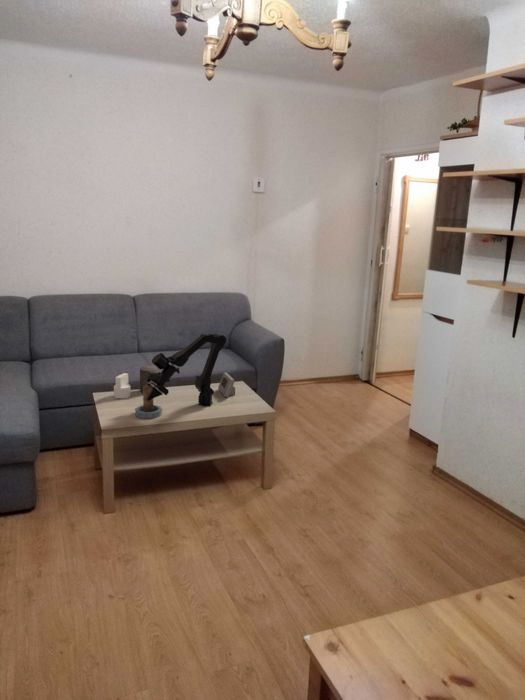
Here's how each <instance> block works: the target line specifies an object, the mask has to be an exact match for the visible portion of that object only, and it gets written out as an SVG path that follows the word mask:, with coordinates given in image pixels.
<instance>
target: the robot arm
mask: <svg viewBox="0 0 525 700" xmlns="http://www.w3.org/2000/svg"><path fill="white" fill-rule="evenodd" d="M207 343H210V349H209V353H208V356H207V358H206V361H205V364H204V367H203V369H202V373H201V374H200V375H196V380H195V381H194V387H195V388H196V390H197V391H198V392H199V393H198V394H199V395H198V406H202V407H203V406H204V407H210V406H211V405H212V404H214V402H213V395H214V393H215V390H213V388H212V387H211V384H212V379H211V376H212V374H213V371H214V367H215V365H216V362H217V359H218V357H219V354H220V352H221V350H222V349H223V348H224V347H225V345H226V344H227V337H226V336H225V335H223V334H221V333H218V332H216V333H212V334H211V333H201V334H200V335H199V337H197V338H195V340H193V341H192V342H191V343H190V344H189V345H187V346H186V347H185V348H183V349H182V350H179V351H177V352H175V353H173V354H172V355H171V356H165V354H164V353H162V352H160V353H159V354H156V355H155V356H153V358H152V360H151V363H152V364H153V365H154V366H155V367H156V368H157V369H159V370H161V371H157V373H155V372H154V373H153V372H150V371H147V373H146V376H145V377H146V378H145V380H146V381H147V382H146V383H147V386H153V391H152V392H151V394H150V395H149V397H148V398H147V400H148V401H149V400H151V399H153V400H154V399H155V398H158V397H160V396H163V395H165V396H167V395H169V389H168V388H167V387H166V386H165V385H166V384H167V383H170V382H171V378H172V377H173V376H174V374H175V373H176V374H181V372H180V368H181V367H183V366H184V365H185V364H186V363H187V362H188V360H190V359H189V358H190V357H191V356H192V355H193V354H195V352H197V351H199V349H201V347H203V346H204V345H205V344H207ZM155 387H156V388H155Z"/></svg>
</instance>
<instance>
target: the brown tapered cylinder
mask: <svg viewBox="0 0 525 700" xmlns="http://www.w3.org/2000/svg"><path fill="white" fill-rule="evenodd" d="M152 391H153V386H144V387H143V393H142V397H143V398H142V400H143V401H142V402H143V403H142V405H143V409H144V412H152V411H154V406H153V405H154V398H153V399H151V400H149V401H148V400H147V398H148V397H149V395H150V394H151V392H152Z"/></svg>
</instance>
